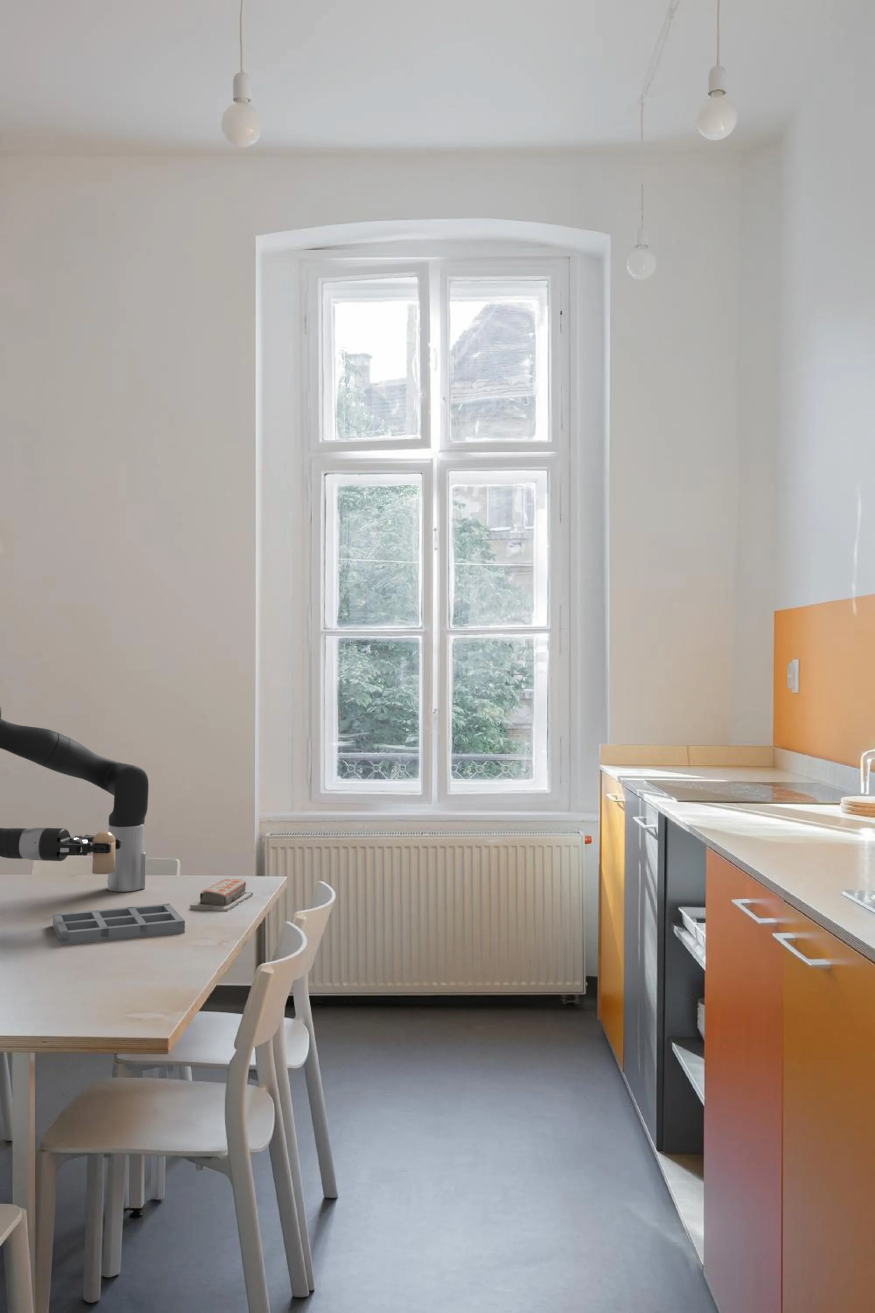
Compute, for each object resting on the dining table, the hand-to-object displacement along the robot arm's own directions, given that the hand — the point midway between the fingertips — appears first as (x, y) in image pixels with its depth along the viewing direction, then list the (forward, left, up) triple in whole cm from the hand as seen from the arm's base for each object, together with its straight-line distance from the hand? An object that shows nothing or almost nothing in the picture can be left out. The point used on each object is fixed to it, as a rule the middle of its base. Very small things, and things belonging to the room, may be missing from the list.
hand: (115, 846), depth 227 cm
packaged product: (-28, -12, -19) cm, 36 cm away
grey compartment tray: (0, +5, -18) cm, 19 cm away
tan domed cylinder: (+2, -1, -6) cm, 7 cm away
